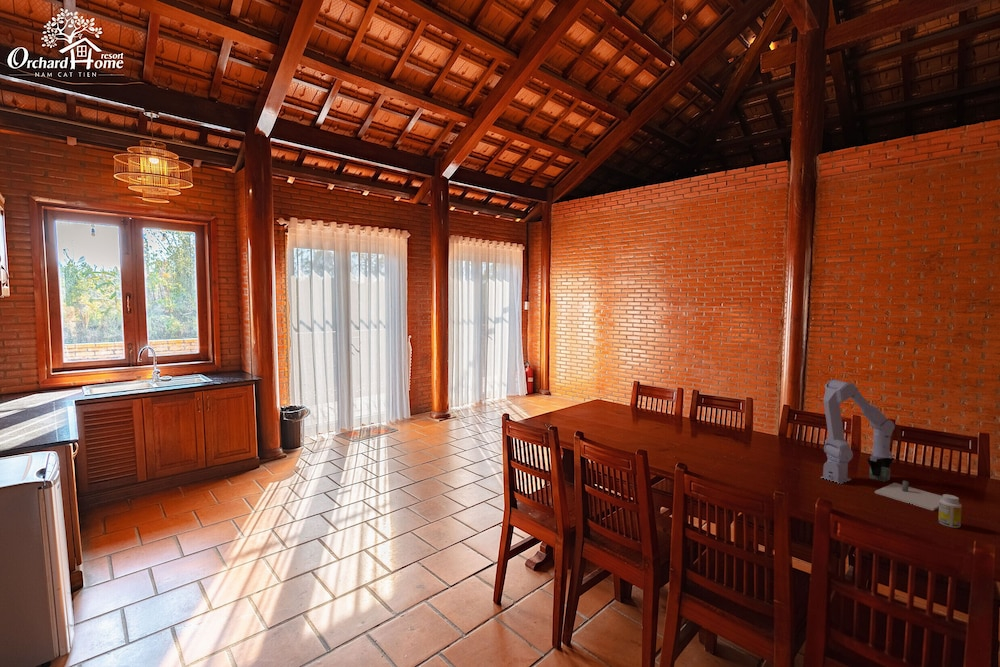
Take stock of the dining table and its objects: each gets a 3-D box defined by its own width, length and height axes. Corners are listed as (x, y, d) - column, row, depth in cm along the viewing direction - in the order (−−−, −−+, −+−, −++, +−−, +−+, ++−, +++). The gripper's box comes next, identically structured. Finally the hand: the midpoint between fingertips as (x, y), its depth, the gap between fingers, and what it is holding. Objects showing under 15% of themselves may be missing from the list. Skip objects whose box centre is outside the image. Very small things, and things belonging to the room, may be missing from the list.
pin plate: (933, 510, 166) (933, 498, 166) (874, 492, 182) (875, 481, 182) (951, 500, 175) (952, 488, 174) (894, 484, 190) (895, 473, 190)
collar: (884, 482, 193) (884, 470, 193) (869, 477, 198) (869, 466, 197) (889, 479, 196) (890, 468, 195) (874, 475, 200) (875, 464, 200)
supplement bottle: (959, 524, 156) (961, 496, 155) (961, 530, 152) (963, 501, 151) (937, 519, 160) (939, 491, 159) (938, 524, 156) (940, 496, 155)
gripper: (885, 449, 189) (883, 480, 190) (900, 444, 196) (898, 474, 196) (865, 444, 195) (863, 474, 196) (880, 439, 202) (879, 468, 203)
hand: (879, 474), depth 196 cm, fingers open, 7 cm apart
